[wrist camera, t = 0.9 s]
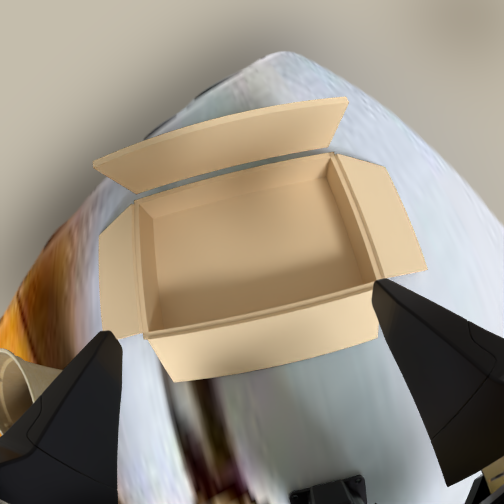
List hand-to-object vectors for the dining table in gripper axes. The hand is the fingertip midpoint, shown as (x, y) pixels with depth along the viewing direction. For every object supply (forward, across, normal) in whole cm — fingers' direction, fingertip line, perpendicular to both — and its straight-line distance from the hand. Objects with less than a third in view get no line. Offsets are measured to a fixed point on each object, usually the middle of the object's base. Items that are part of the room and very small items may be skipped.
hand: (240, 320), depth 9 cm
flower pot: (+6, +21, +14) cm, 26 cm away
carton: (+13, -1, +7) cm, 15 cm away
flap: (+17, 0, -1) cm, 17 cm away
